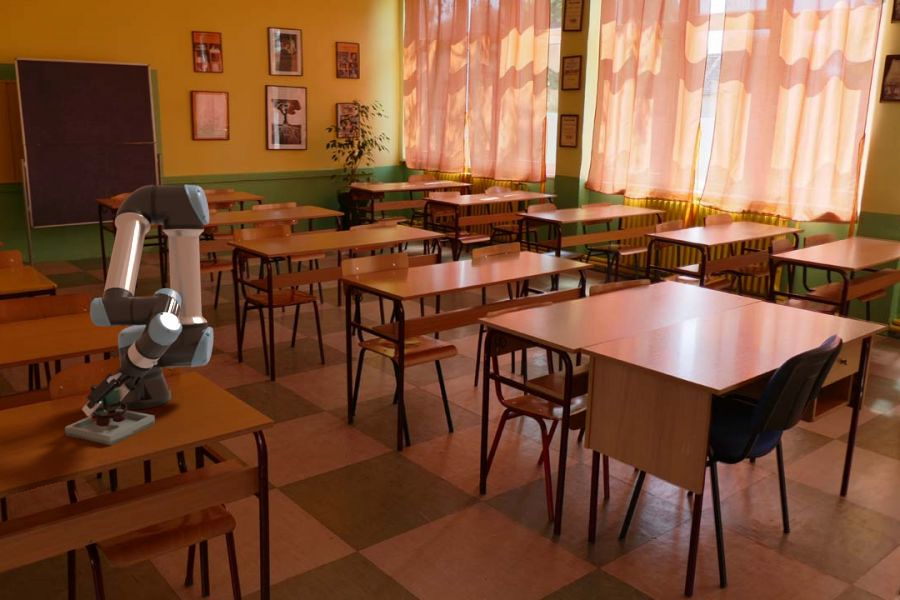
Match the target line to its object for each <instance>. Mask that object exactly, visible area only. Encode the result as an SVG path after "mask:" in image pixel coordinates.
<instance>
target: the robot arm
mask: <svg viewBox="0 0 900 600" xmlns="http://www.w3.org/2000/svg"><path fill="white" fill-rule="evenodd" d="M209 224H210V211H209V205H208V201H207V196H206V193H205V191H204V189H203V188H202V187H201V186H199V185H197V184H196V185H195V184H167V185H166V184H163V185H162V184H160V185H159V184H158V185H157V184H149V185H144V186H141V187H139V188H137V189H135V190H134V191H133V192H131V193H130V194H129V195H128V196H127V197H126V198H125V199H124V200H123V201H122V203H121V204H120V206H119V208H118V210H117V212H116V214H115V219H114V226H115V228H116V234H115V237H114V242H113V243H114V244H113V247H112V252H111V256H110V257H111V258H110V260H109V267H108V271H107V275H106V280H105V285H104V291H103V295H102V296H100V297H95V298H93V299H92V300H91V302H90V306H89V307H90V308H89V312H90V313H89V314H90V319H91V321H92V323H93V324H94V325H95V326H98V327H119V326H120V327H121V326H128V327H126V328H124V329H122V330H121V331H120V332H119V333H118V335H117V336H118V337H117V342H118V345H117V348H118V355H119V356H118V357H119V364H120V367H119V368H118V369H117V370H116V371H115V373H113V375H112V374H111V373H108V374H107V375H106V376H105V378H104V379H103V380H102V381H101V382H100V383H99V384H98V385H96V386H97V387H96V388H95V389H94V390H93V391H92V390H91V392H90V393H88V395H87V396H86V398H87V400H88V401H87V402H86V404H85V405H84V406H83V407H82V408H81V410H82V411H83V412H84V414H85V416H87V417H89V416H92V413H93V412H94V411H95V410H96V408H97V407H98V406H99V405H100V404H101V400H103V399H104V398H105V397H106V396H107V395H109V394H110V393H111V392H112V391H113V390H114V389H116V388H117V389H118V395H119V401H122V403H123V404H126V405H127V410H143V409H144V410H145V409H151V408H155V407H159V406H162V405H164V404H167V403H168V402H169V401H170V400H171V399H172V395H171V394H172V393H171V389H170V387H169V385H168V383H167V381H166V377H165V375H164V373H163V372H164V371H163V368H183V367H184V368H185V367H189V368H190V367H191V368H194V367H203V366H206V365H207V364H208V363H209V361H210V359H211V356H212V352H213V347H214V329H213V327H211V326H208V321H207V319H205V318H204V316H203V313H202V287H201V285H202V284H201V262H200V261H201V259H200V257H201V256H200V236H201V234H203V232H204V231H205V226H206V225H209ZM153 225H155V226H162V232H164V234H166V236H167V237H168V257H169V258H168V259H169V281H170V282H169V283H170V284H169V285H170V288H169V287H168V288H160V289H158V290H156V291H155V292H154V293H153V296H135V290H136V285H137V281H138V280H137V279H138V275H139V269H140V265H141V264H140V263H141V259H142V253H143V248H144V244H145V243H144V242H145V236H146V234H147V233H149V231H150V230H151V226H153ZM120 406H121V402H120ZM121 409H125V407H122V408H121Z"/></svg>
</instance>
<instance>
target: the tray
mask: <svg viewBox="0 0 900 600" xmlns="http://www.w3.org/2000/svg"><path fill="white" fill-rule="evenodd" d="M123 410H124V409H123V408H119V409H116V411H117V412H121V411H123ZM107 412H108V411H106V410H105V409H104V412H103V413H101V414H100V415H102V416H103V415H107ZM155 416H156V415H153V414H148V413H144V412H138V411H133V410H129V409H127V411H126V412H125V420H124V421H122V422H114V421H113V418H110V422H109V425H108V426H104V427H102V426H98V425H97V424H96V422H91V417H92V415H91V416H89V417H88V416H87V417H85V418H82V419H80V420H78V421H76V422H73V423H70V424H68V425H66V426H65V427H64V432H65V436H66V435H67V436H66V437H69V436H71V437H70V438H74V437H76V438H75V439H78V438H81V439H80V440H83V439H85V440H84V441H88V440H89V441H88V442H93V443H98V444H103V445H107V446H113V445H115V444H117V443H119V442H122V441H123V440H125V439H127V438H130V437H132V436H134V435H135V434H137V433H139V432H142V431H143V430H145V429H146V430H147V428H150V427H152V426H154V425H156V418H155Z"/></svg>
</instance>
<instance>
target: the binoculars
mask: <svg viewBox="0 0 900 600" xmlns="http://www.w3.org/2000/svg"><path fill="white" fill-rule="evenodd" d="M97 386H98V385H90V390H91V392H92V391H93V390H94V389H95V388H96V387H97ZM120 402H121V406H120ZM122 407H125V408H124V409H123V408H122ZM116 409H122V410H123V411H121V412H117V411H116ZM104 410H106V411H108V412H107V415H103V416H102V415H100V414H101V413H103V412H104ZM127 410H128V409H127V405H126V404H123V403H122V401H119V395H118V387H117V388H116V389H114V390H113V391H112V392H111V393H110V394H109V395H107V396H106V397H105V398H104V399H103V400H101V404H100V405H99V406H98V407H97V408H96V410H95V411H94V412H93V413H92V415H91V416H92V417H91V422H96V424H97V425H98V426H102V427H104V426H108V425H109V422H110V418H113V421H114V422H122V421H124V420H125V412H126V411H127Z"/></svg>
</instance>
